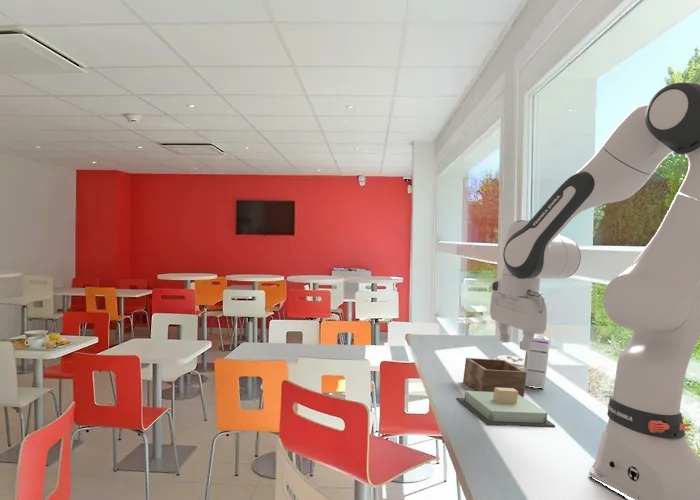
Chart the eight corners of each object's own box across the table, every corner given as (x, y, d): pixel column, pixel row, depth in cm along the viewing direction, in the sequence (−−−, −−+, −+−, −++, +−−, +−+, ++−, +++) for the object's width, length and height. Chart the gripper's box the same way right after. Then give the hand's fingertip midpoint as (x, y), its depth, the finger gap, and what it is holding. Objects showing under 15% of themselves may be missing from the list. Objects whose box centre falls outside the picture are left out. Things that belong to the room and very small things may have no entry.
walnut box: (523, 398, 149) (526, 372, 148) (482, 396, 146) (485, 370, 145) (501, 383, 160) (504, 360, 160) (462, 382, 157) (466, 357, 157)
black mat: (554, 426, 128) (555, 425, 128) (487, 424, 124) (487, 423, 124) (517, 401, 145) (517, 400, 145) (456, 399, 141) (456, 397, 141)
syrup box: (544, 390, 159) (551, 340, 158) (523, 386, 160) (529, 336, 159) (541, 384, 165) (548, 336, 164) (521, 381, 166) (527, 333, 165)
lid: (506, 378, 168) (508, 362, 167) (485, 366, 180) (487, 351, 179) (542, 380, 171) (544, 364, 171) (519, 368, 183) (521, 353, 183)
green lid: (546, 422, 129) (549, 400, 129) (490, 421, 126) (493, 398, 126) (515, 401, 143) (517, 381, 143) (464, 399, 140) (466, 379, 140)
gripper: (556, 294, 123) (550, 356, 124) (510, 284, 143) (505, 337, 144) (531, 292, 122) (524, 354, 122) (488, 282, 142) (482, 336, 142)
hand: (513, 345), depth 133 cm, fingers open, 8 cm apart
